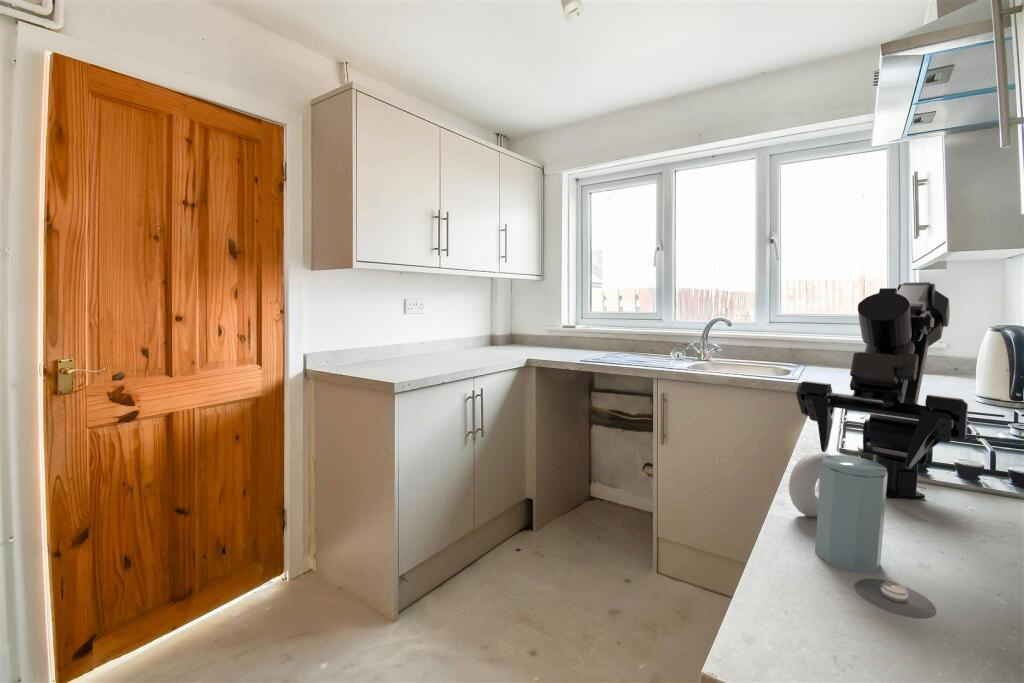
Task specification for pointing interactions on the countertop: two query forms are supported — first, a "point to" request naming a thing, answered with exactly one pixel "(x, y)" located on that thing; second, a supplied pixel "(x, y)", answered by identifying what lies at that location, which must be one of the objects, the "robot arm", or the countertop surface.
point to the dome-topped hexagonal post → (851, 513)
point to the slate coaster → (913, 608)
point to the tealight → (894, 592)
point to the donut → (806, 483)
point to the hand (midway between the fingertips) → (863, 458)
